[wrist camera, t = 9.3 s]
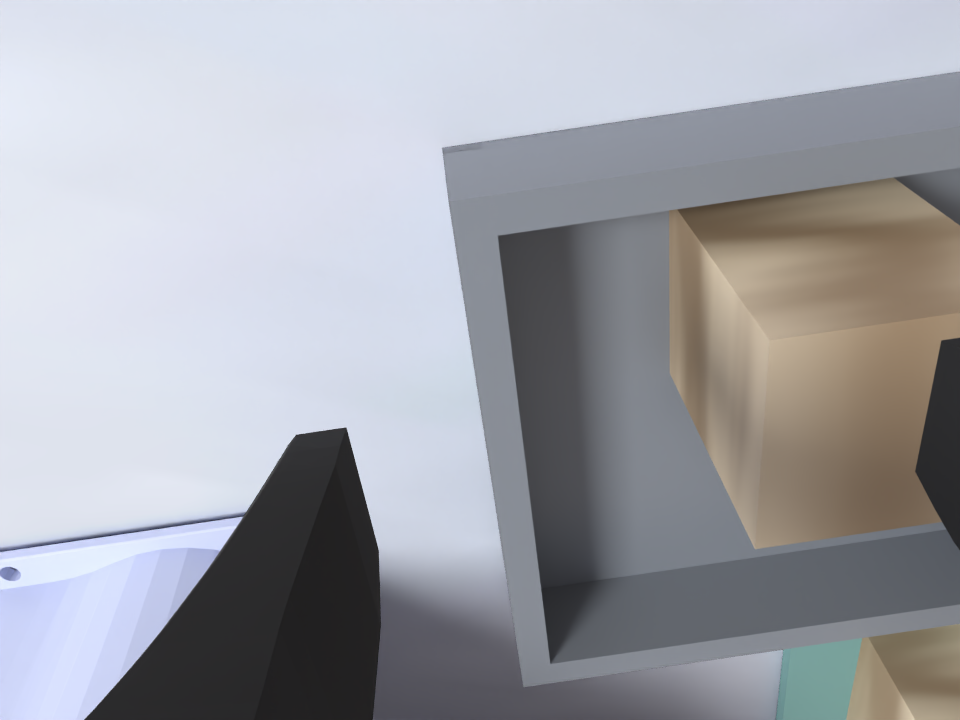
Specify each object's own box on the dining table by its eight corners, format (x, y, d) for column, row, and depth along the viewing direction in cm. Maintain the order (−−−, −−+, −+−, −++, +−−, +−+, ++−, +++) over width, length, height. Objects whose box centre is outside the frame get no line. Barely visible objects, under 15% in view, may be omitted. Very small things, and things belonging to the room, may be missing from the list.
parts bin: (511, 601, 25) (523, 687, 23) (441, 147, 18) (448, 201, 15) (975, 533, 25) (1038, 612, 23) (1102, 50, 18) (1218, 88, 15)
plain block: (669, 373, 21) (754, 549, 16) (668, 198, 18) (769, 340, 13) (854, 346, 21) (999, 513, 16) (879, 167, 18) (1059, 297, 13)
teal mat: (772, 755, 31) (777, 768, 30) (790, 583, 26) (796, 595, 25) (1018, 719, 31) (1026, 731, 30) (1082, 540, 26) (1093, 552, 25)
